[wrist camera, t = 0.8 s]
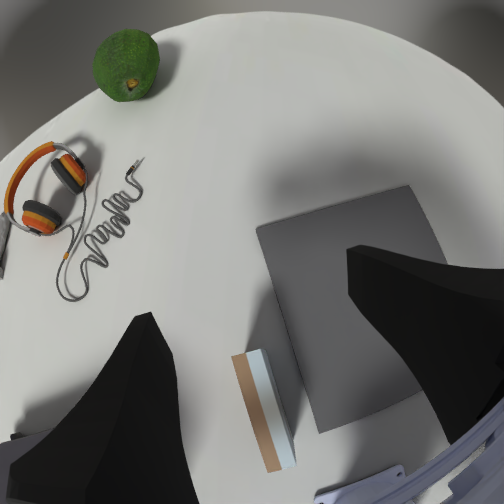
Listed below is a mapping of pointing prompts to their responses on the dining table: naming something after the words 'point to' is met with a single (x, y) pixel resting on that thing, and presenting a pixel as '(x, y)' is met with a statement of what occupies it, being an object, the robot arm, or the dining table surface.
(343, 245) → the mat
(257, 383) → the tile
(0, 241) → the figurine
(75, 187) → the headphones
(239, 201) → the dining table surface
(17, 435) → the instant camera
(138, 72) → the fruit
